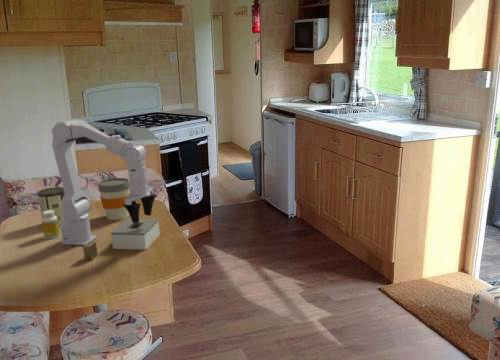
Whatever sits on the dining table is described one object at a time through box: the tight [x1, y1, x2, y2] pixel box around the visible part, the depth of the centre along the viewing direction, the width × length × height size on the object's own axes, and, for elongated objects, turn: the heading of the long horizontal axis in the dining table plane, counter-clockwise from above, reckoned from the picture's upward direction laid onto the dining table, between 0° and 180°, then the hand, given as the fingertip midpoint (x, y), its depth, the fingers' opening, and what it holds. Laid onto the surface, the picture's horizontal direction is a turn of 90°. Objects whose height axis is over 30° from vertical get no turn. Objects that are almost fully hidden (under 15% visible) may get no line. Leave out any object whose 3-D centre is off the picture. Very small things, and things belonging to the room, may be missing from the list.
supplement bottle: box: [41, 210, 61, 240], centre depth 180 cm, size 5×5×10 cm
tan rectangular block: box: [82, 241, 98, 262], centre depth 160 cm, size 2×4×5 cm, turn 171°
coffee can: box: [36, 186, 65, 228], centre depth 193 cm, size 10×10×14 cm
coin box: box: [110, 218, 161, 250], centre depth 172 cm, size 12×14×6 cm
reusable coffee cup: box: [98, 177, 131, 221], centre depth 199 cm, size 13×13×15 cm
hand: (141, 218), depth 167 cm, fingers open, 7 cm apart
